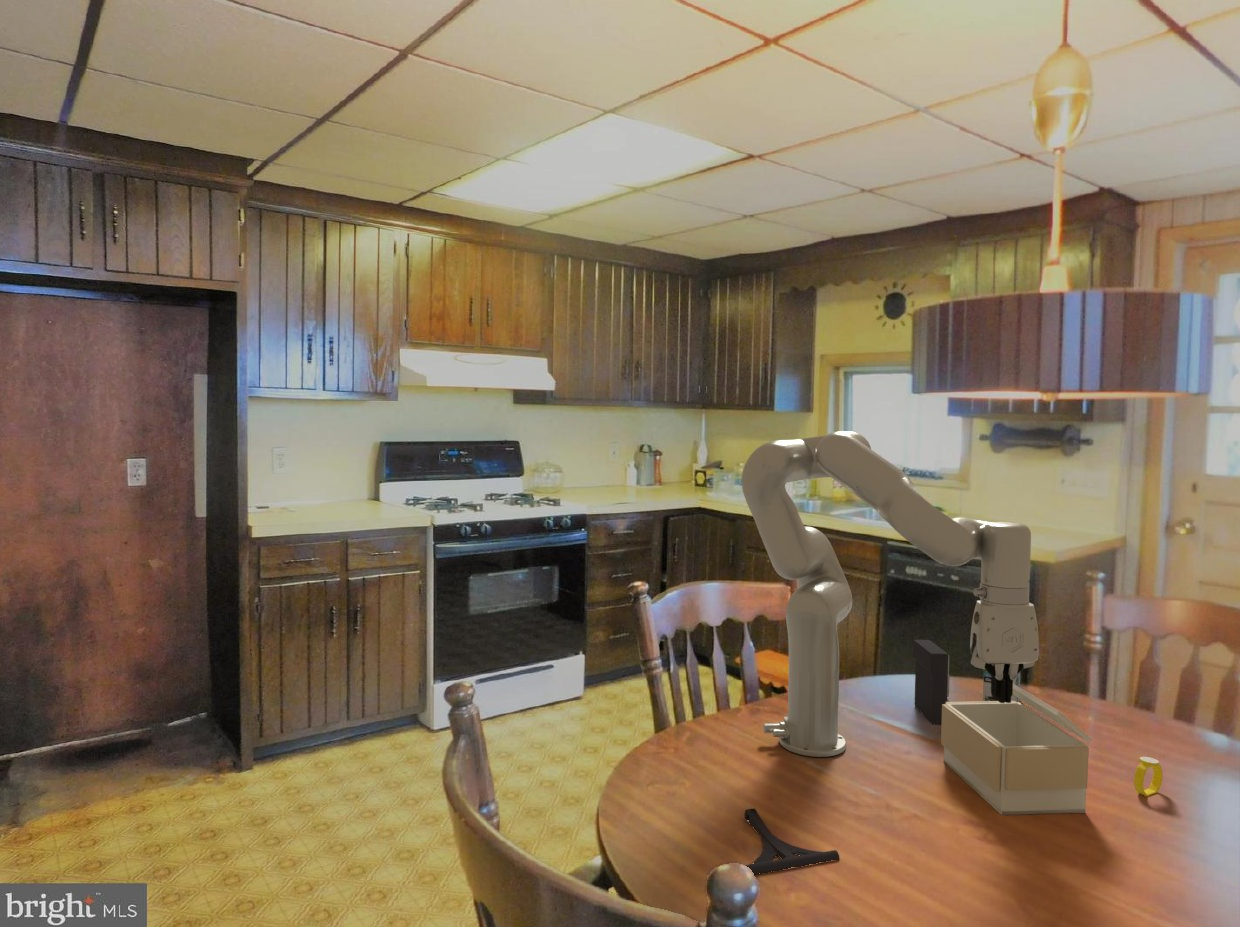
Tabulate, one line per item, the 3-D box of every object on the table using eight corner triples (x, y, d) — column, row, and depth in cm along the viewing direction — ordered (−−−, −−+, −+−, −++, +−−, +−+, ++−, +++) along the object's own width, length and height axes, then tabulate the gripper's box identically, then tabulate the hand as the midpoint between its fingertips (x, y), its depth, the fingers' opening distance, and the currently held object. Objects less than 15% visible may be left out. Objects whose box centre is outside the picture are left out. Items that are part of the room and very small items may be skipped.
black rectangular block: (950, 725, 167) (952, 653, 166) (929, 724, 167) (931, 653, 166) (931, 706, 178) (932, 639, 177) (911, 705, 178) (913, 639, 177)
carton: (999, 817, 128) (1001, 750, 127) (937, 760, 150) (939, 702, 149) (1088, 815, 129) (1091, 748, 128) (1014, 758, 150) (1016, 700, 150)
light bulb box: (1015, 714, 173) (1017, 665, 172) (981, 708, 177) (982, 660, 176) (1020, 699, 182) (1021, 652, 182) (987, 694, 186) (989, 648, 185)
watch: (1148, 788, 139) (1151, 754, 139) (1165, 795, 137) (1168, 760, 137) (1128, 793, 136) (1131, 758, 136) (1145, 800, 134) (1148, 764, 134)
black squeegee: (788, 815, 130) (788, 799, 130) (839, 864, 116) (839, 845, 116) (706, 829, 126) (706, 812, 125) (748, 881, 111) (749, 862, 111)
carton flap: (1056, 715, 129) (1059, 711, 129) (993, 676, 148) (996, 673, 148) (1089, 743, 130) (1092, 739, 130) (1022, 701, 149) (1025, 698, 149)
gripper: (972, 600, 133) (969, 709, 134) (1060, 599, 134) (1056, 707, 135) (951, 590, 141) (948, 693, 142) (1034, 589, 141) (1031, 692, 142)
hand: (1001, 700), depth 138 cm, fingers closed
